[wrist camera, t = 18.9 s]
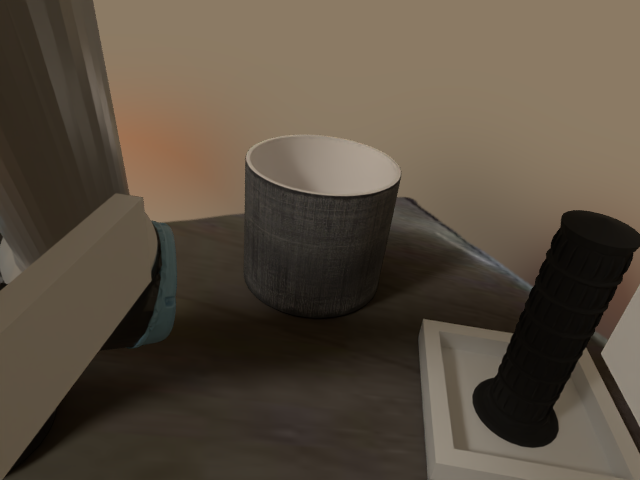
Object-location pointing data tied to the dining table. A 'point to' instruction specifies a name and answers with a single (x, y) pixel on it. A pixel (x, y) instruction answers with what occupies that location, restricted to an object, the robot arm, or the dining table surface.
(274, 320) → the dining table surface
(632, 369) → the robot arm
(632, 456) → the tray
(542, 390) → the ribbed tower figurine
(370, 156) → the planter
